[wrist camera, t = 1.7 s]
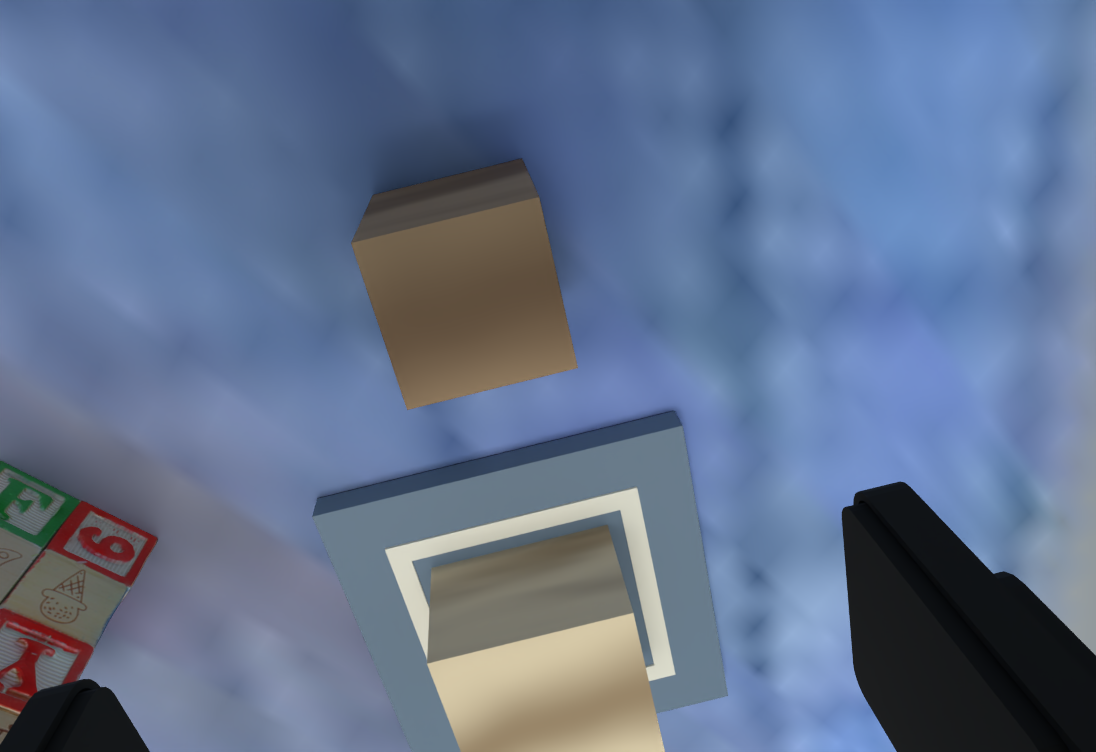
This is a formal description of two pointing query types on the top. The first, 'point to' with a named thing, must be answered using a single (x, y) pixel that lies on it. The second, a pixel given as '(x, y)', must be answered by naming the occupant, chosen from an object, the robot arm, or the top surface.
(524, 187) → the walnut block
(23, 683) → the stack of blocks
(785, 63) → the top surface
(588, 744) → the maple base block
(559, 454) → the board
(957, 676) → the robot arm
